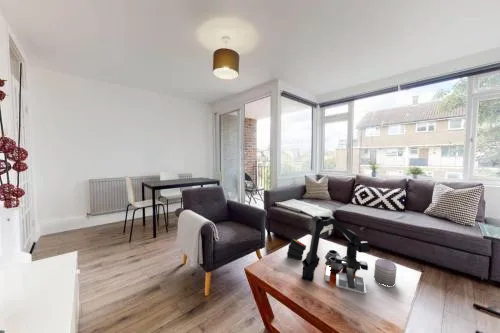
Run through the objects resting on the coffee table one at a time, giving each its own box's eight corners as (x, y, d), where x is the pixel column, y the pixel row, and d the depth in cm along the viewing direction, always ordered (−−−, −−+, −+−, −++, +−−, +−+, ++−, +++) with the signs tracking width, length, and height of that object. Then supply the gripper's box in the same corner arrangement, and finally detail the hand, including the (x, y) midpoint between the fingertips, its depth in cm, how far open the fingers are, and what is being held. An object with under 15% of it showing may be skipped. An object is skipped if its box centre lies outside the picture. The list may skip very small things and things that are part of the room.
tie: (326, 270, 138) (326, 265, 138) (330, 271, 137) (330, 266, 137) (325, 280, 127) (325, 274, 127) (329, 281, 126) (329, 275, 126)
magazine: (283, 252, 157) (292, 237, 154) (298, 263, 154) (308, 247, 151) (282, 255, 153) (292, 239, 150) (298, 265, 150) (308, 249, 147)
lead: (354, 289, 118) (355, 283, 118) (347, 287, 119) (348, 281, 119) (352, 273, 133) (352, 268, 133) (346, 272, 135) (346, 267, 134)
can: (398, 284, 126) (400, 265, 125) (389, 289, 120) (390, 270, 120) (379, 274, 136) (381, 257, 135) (369, 278, 130) (371, 261, 129)
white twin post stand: (336, 286, 122) (336, 278, 121) (336, 275, 133) (336, 268, 132) (366, 294, 116) (367, 286, 115) (363, 282, 127) (364, 274, 126)
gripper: (335, 254, 126) (334, 278, 127) (370, 261, 119) (368, 286, 120) (335, 246, 136) (334, 268, 137) (367, 253, 129) (365, 276, 130)
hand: (349, 275), depth 131 cm, fingers closed on lead, 4 cm apart
